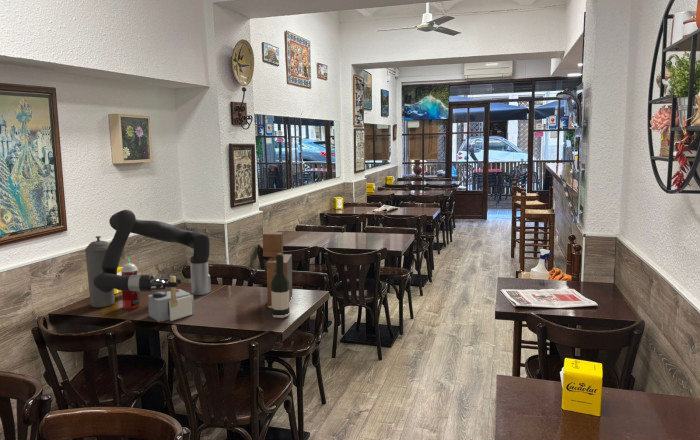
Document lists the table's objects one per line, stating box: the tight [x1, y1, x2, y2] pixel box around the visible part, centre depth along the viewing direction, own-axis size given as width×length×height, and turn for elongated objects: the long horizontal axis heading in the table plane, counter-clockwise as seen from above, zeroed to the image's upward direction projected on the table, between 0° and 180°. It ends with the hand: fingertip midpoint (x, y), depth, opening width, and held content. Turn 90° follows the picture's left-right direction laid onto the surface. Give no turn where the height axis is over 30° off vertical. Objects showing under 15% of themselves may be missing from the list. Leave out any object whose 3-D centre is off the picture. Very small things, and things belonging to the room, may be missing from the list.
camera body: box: [147, 288, 192, 323], centre depth 246 cm, size 16×11×11 cm
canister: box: [84, 235, 116, 308], centre depth 260 cm, size 13×13×35 cm
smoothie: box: [120, 257, 139, 275], centre depth 278 cm, size 8×8×20 cm
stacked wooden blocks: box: [262, 231, 293, 306], centre depth 265 cm, size 19×14×35 cm
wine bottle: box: [271, 253, 290, 315], centre depth 245 cm, size 8×8×30 cm
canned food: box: [121, 291, 141, 310], centre depth 258 cm, size 8×8×11 cm
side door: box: [169, 275, 195, 322], centre depth 241 cm, size 13×3×21 cm, turn 143°
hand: (178, 283), depth 236 cm, fingers open, 5 cm apart
